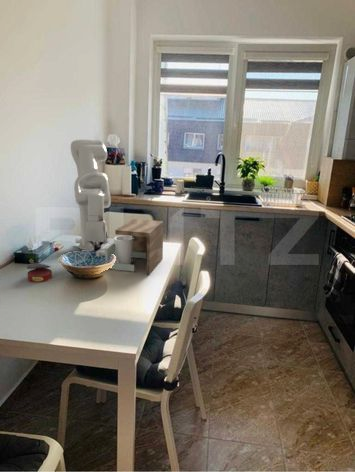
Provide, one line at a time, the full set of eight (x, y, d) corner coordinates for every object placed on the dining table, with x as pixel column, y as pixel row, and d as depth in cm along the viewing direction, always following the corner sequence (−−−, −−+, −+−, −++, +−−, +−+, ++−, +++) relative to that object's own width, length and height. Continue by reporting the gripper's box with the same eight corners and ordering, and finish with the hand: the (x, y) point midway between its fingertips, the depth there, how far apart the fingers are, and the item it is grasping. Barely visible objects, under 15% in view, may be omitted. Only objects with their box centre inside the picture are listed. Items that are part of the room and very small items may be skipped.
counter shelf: (116, 271, 166) (115, 230, 161) (133, 256, 189) (132, 219, 184) (149, 275, 163) (149, 232, 158) (162, 258, 186) (163, 221, 180)
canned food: (28, 290, 155) (17, 269, 154) (46, 280, 164) (35, 261, 163) (42, 284, 149) (31, 263, 148) (60, 274, 157) (50, 254, 156)
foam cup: (123, 268, 171) (123, 242, 168) (110, 263, 177) (110, 238, 173) (137, 263, 178) (137, 238, 175) (124, 259, 184) (124, 234, 180)
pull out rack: (93, 267, 170) (93, 247, 168) (110, 254, 189) (109, 236, 187) (133, 271, 166) (133, 250, 164) (146, 258, 185) (146, 239, 183)
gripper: (78, 218, 173) (80, 254, 177) (107, 220, 169) (108, 257, 174) (85, 215, 180) (87, 250, 184) (113, 217, 176) (114, 253, 181)
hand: (97, 253), depth 179 cm, fingers closed
